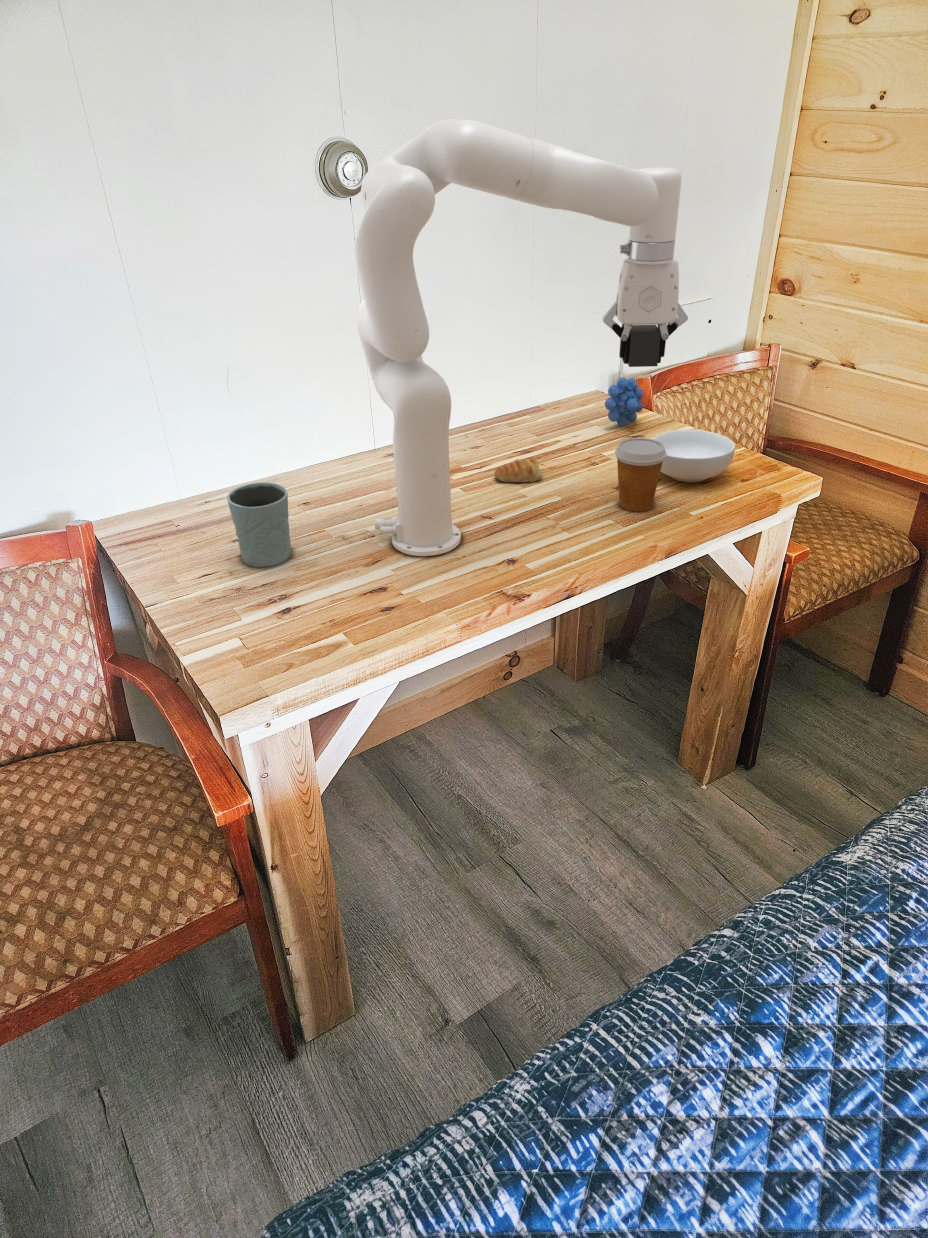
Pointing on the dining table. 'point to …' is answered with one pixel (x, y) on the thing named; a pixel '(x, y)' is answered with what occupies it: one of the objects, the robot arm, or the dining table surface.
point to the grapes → (624, 401)
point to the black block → (644, 345)
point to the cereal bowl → (695, 454)
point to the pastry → (519, 471)
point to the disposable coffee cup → (638, 472)
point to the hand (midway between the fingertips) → (641, 360)
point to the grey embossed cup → (261, 523)
